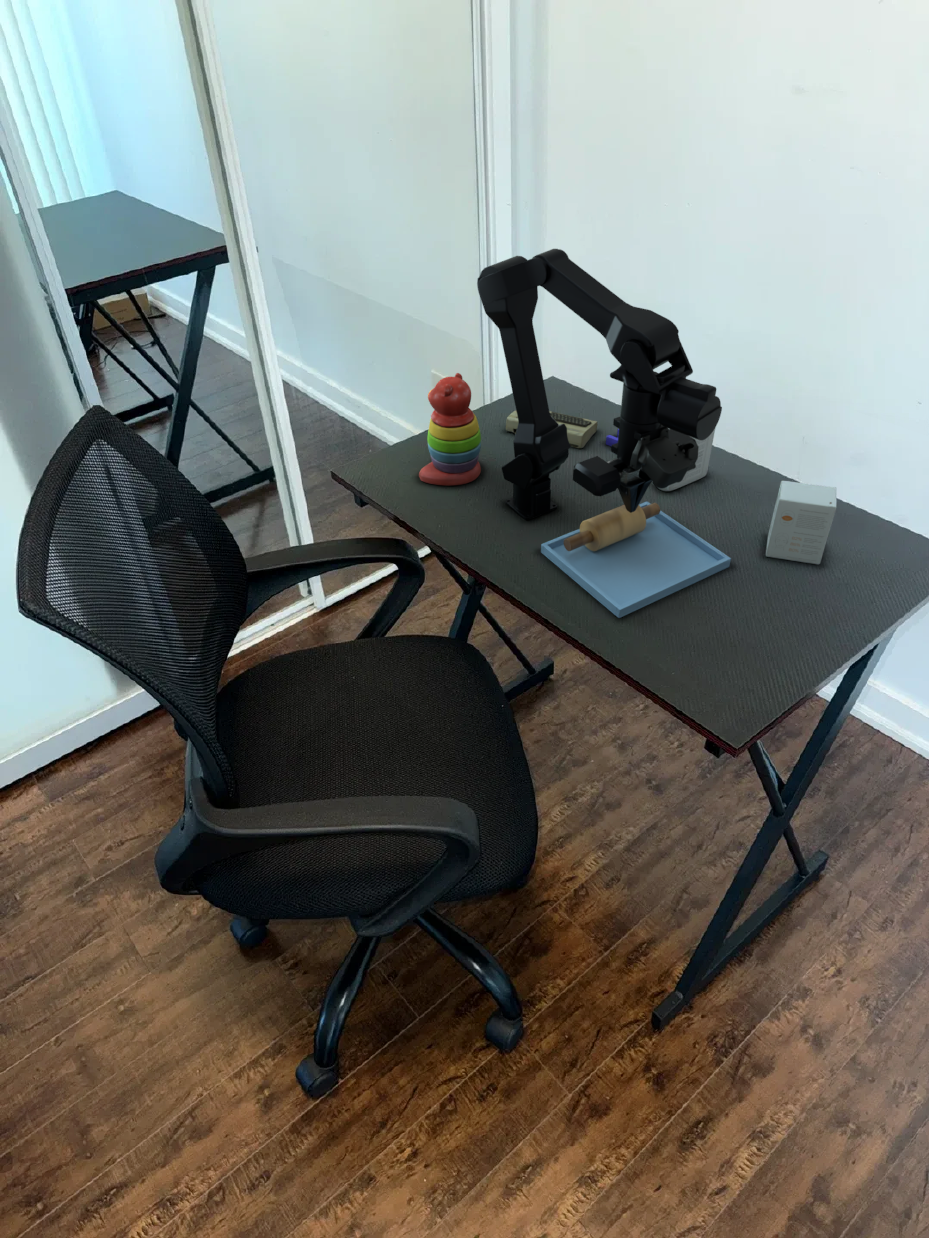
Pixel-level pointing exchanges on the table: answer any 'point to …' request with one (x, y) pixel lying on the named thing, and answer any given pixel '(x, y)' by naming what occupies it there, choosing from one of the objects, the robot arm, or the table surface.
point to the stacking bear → (452, 435)
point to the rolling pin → (611, 527)
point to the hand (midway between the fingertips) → (630, 511)
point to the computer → (576, 427)
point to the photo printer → (701, 464)
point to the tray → (639, 564)
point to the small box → (801, 522)
